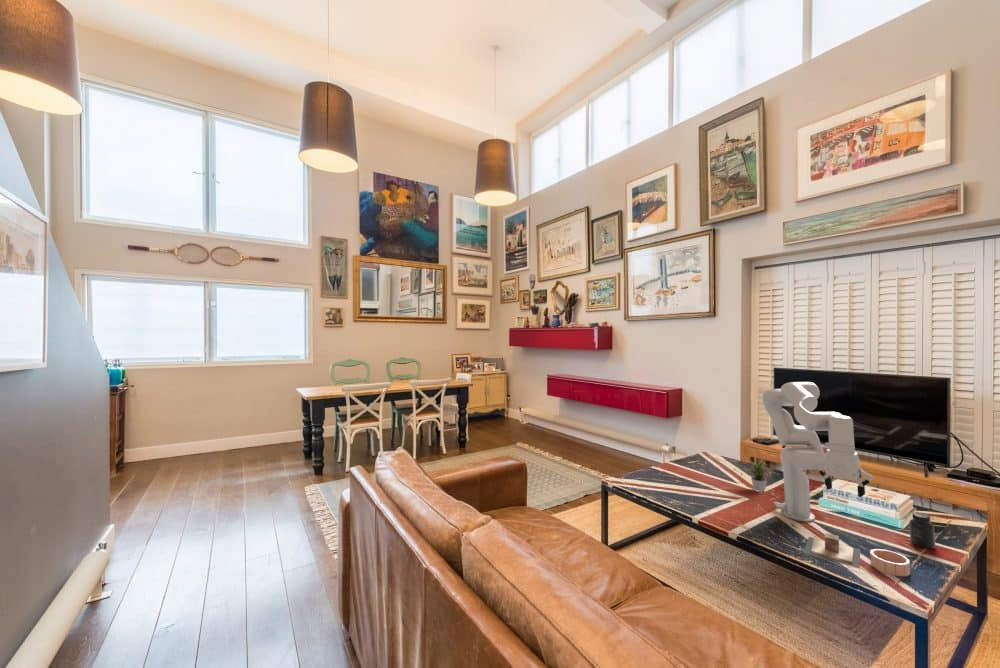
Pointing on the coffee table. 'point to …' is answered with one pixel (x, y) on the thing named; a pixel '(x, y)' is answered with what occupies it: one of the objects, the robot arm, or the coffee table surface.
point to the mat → (855, 558)
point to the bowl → (890, 562)
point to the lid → (832, 548)
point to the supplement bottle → (922, 531)
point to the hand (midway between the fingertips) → (844, 492)
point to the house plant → (758, 476)
